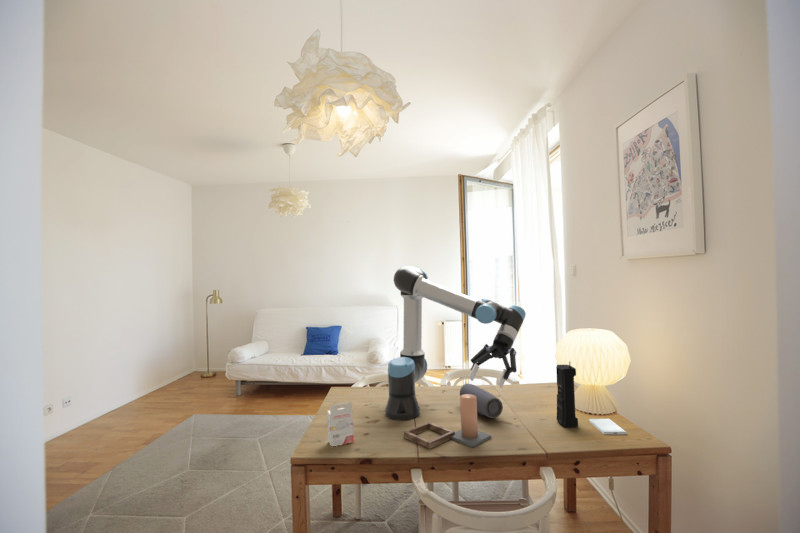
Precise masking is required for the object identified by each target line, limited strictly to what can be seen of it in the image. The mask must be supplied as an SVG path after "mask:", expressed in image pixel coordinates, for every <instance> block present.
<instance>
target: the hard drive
mask: <svg viewBox="0 0 800 533" xmlns="http://www.w3.org/2000/svg"><path fill="white" fill-rule="evenodd" d="M588 422H589V423H590V424H591V425H592V426H594V427H595V429H597V430H598V431H600V432H601V433H602V434H603V435H627V434H628V433H627V431H626V430H624V429H623V428H622V427H621V426H619V425H618V424H617V423H615V422H614V421H613V420H611V419H610V418H589V419H588Z"/></svg>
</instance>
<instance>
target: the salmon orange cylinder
mask: <svg viewBox="0 0 800 533" xmlns="http://www.w3.org/2000/svg"><path fill="white" fill-rule="evenodd" d="M459 404H460V407H459V408H460V430H461V435H462V437H464V438H468V439H473V438H476V437H478V431H479V426H478V413H477V398H476V396H475V395H471V394H464V395H461V396H460V395H459Z"/></svg>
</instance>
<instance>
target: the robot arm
mask: <svg viewBox="0 0 800 533" xmlns="http://www.w3.org/2000/svg"><path fill="white" fill-rule="evenodd" d="M393 275H394V276H393V283H394V286H395V288H396V289H397V290H399V291H400V296H401V297H402V298H403V347H402V348H403V349H402V350H401V351H400V356H399V357H396V358H393V359H391V360H390V361H389V362H388V367H387V375H388V376H387V377H388V382H387V383H388V400H387V402H386V406H385V410H384V411H385V412H384V413H385V417H387V418H388V417H389V418H388V419H391V418H392V420H396V419H397V420H396V421H406V420H412V419H414V418H417V417H419V416H420V415H421V410H420V405H419V403H418V399H417V397H416V382H418V381H419V380H421V379H423V377H424V376H425V375H426V373H427V371H428V363H427V359H426V358H425V351H424V350H423V348H422V338H423V336H422V328H423V327H422V326H423V325H422V324H423V323H422V322H423V321H422V320H423V319H422V318H423V316H422V314H423V313H422V311H423V308H422V306H423V305H422V304H423V303H422V302H423V301H422V300H423V298H425V299H426V300H429V301H432V302H433V303H437V304H439V305H442V306H444V307H446V308H450V309H452V310H454V311H457V312H459V313H461V314H464V315H466V316H469V317H471V318H473V319H475V320H477V321H478V322H479V323H481V324H484V325H487V324H491V323H493V322H496V323H498V324H500V326H499V328H498V330H497V332H496V335H495V337H494V339H493V343H492V344H491V346H490V345H489V344H488V343H485V345H483V348H481V349H480V351H478V352H477V353H476V354H475V355H474V356H472V358H471V359H470V362H471V363H472V365H471V368H470V372H469V375H467V376H468V378H469V380H470V381H471V382H474V380H475V377H476V375H477V374H478V372H479V369H480V366H481V365H483V364H484V363H485V362H487V361H489V360H490V359H500V360H501V359H502V362H503V364H504V367H505V368H504V369H503V370H502V372H501V374H500V377H499V379H498V380H497V383H496V384H497V385H498V386H499V388H502V389H503V387H504V384H505V382H506V381H507V380H508V379H509V377H510V375H511V374H512V373H517V360H516V355H517V351H516V350H515V348H514V347H513V346H514V342H515V340H516V339H517V336H518V334H519V331H520V330H521V327H522V325H523V324H524V320H525V318H526V311H525V310H524V309H523V307H521V306H519V305H515V304H513V305H511V306H509V307H507V306H503V305H501V304H500V303H497V302H495V301H493V300H491V299H487V298H485V297H483V298H482V299H481V300H479V299H476V298H474V297H471V296H470V295H467V294H464V293H461V292H459V291H456V290H453V289H451V288H448V287H446V286H444V285H441V284H438V283H436V282H433V281H430V280H429V279H428V275H427V273H426V271H425V270H424V269H423V268H421V267H419V266H403V267H400V268H398V269H397V270H396V271H395V273H394V274H393ZM508 354H509V360H508V358H507V355H508ZM509 361H510V362H509Z"/></svg>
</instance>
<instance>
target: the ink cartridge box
mask: <svg viewBox="0 0 800 533" xmlns="http://www.w3.org/2000/svg"><path fill="white" fill-rule="evenodd" d="M352 404H353V403H352V402H351V401H350V402H344V403H338V404H333V405H330V406H329V410H326V411H327V415H326V417H327V438H328V439H327V441H328V442H329V443H330V444H329V443H328V444H329V446H330V445H331V446H335V445H340V444H345V443H349V442H353V443H354V442H355V440H354V438H355V437H354V436H355V435H354V416H353V414H354V413H353V405H352ZM349 444H350V443H349ZM345 445H346V444H345ZM331 446H330V447H331ZM340 446H341V445H340Z"/></svg>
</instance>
